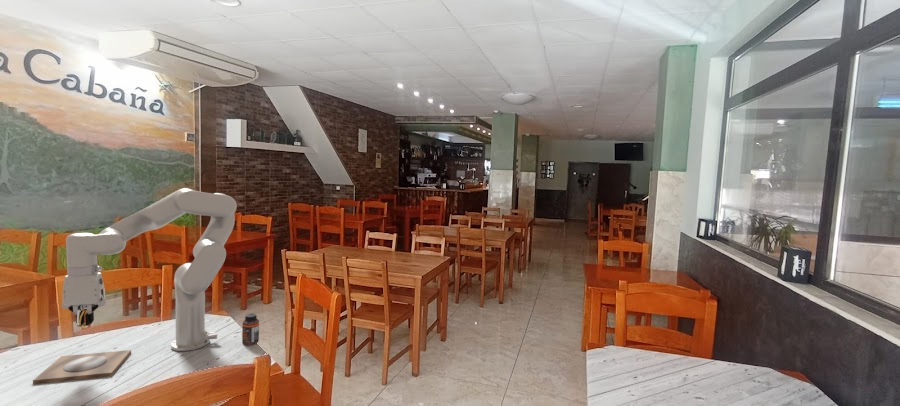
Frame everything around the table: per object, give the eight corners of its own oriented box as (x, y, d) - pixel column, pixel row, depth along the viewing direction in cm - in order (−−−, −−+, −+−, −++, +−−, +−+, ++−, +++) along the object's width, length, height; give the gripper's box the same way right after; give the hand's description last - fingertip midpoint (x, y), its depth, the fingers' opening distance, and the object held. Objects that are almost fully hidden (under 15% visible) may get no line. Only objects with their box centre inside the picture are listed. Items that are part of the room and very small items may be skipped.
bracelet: (84, 331, 137) (83, 307, 136) (72, 331, 136) (71, 307, 136) (96, 323, 144) (96, 300, 143) (86, 324, 143) (85, 301, 143)
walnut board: (131, 353, 152) (131, 349, 152) (111, 376, 136) (111, 371, 136) (61, 359, 145) (61, 355, 145) (32, 384, 129) (32, 379, 129)
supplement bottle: (238, 343, 164) (238, 315, 163) (251, 338, 170) (251, 311, 169) (250, 347, 162) (250, 318, 161) (262, 341, 168) (262, 313, 167)
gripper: (116, 266, 144) (118, 318, 146) (59, 268, 139) (62, 322, 141) (106, 272, 137) (108, 326, 139) (46, 274, 132) (49, 331, 134)
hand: (85, 324), depth 140 cm, fingers closed on bracelet, 1 cm apart
